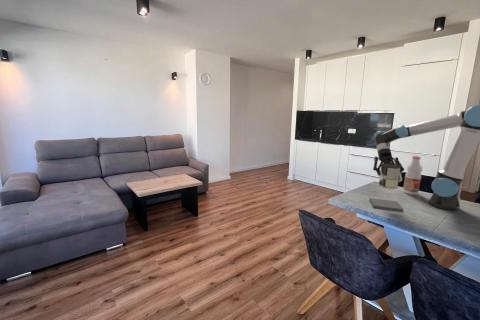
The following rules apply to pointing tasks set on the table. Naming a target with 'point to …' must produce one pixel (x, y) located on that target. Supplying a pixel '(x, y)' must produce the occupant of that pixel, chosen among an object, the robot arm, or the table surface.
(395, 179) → the coffee can
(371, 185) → the table surface
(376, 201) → the mat
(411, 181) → the fruit juice
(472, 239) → the table surface
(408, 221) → the table surface
